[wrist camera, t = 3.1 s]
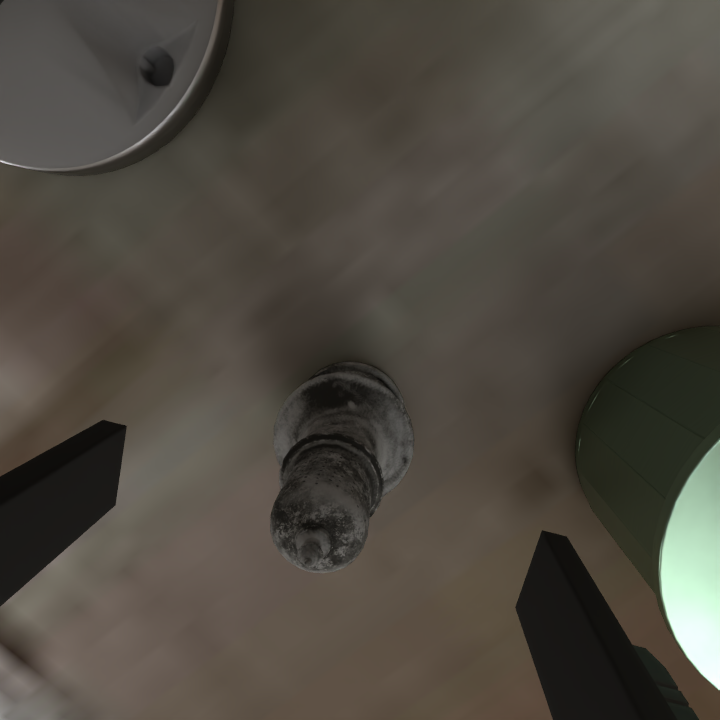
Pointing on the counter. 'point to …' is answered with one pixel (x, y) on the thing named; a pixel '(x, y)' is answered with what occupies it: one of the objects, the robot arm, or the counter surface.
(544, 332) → the counter surface
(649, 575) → the pot
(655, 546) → the pot lid
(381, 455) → the dark grey tall piece
